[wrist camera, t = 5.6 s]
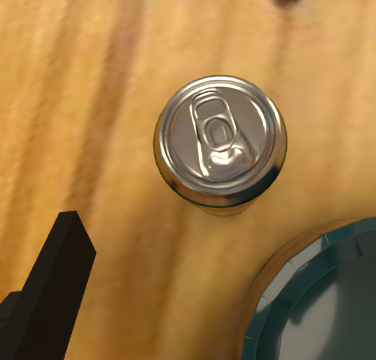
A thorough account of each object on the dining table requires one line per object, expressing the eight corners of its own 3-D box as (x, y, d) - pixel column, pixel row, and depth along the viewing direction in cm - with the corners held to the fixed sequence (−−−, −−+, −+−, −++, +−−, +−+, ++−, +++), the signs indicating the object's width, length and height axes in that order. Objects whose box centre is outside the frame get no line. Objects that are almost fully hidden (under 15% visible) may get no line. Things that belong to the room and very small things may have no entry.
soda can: (200, 226, 23) (171, 226, 11) (178, 159, 24) (128, 93, 12) (270, 203, 23) (316, 176, 11) (245, 135, 23) (261, 43, 12)
